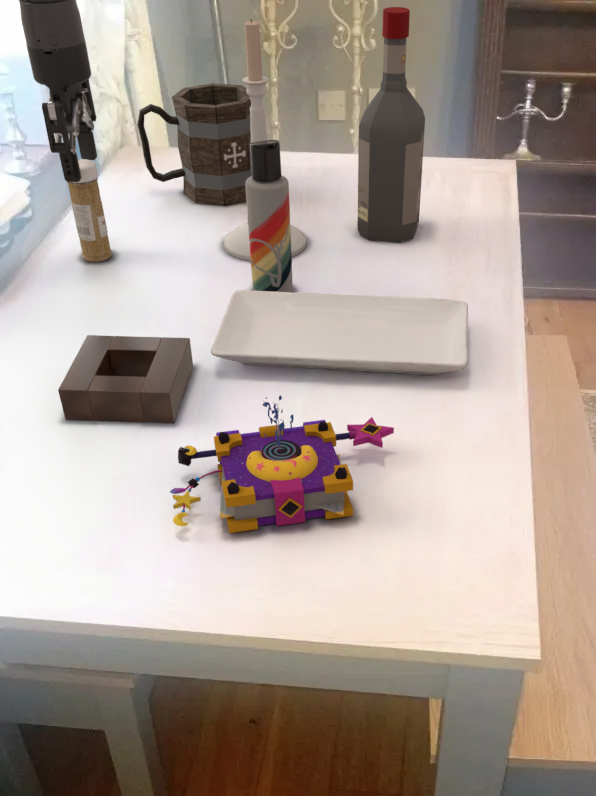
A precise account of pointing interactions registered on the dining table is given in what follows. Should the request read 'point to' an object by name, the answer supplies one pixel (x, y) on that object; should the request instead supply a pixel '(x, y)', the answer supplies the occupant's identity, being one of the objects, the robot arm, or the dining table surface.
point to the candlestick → (256, 140)
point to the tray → (344, 332)
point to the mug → (208, 142)
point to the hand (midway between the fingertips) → (81, 170)
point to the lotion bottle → (269, 219)
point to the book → (279, 473)
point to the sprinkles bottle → (89, 213)
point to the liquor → (391, 145)
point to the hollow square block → (127, 379)
